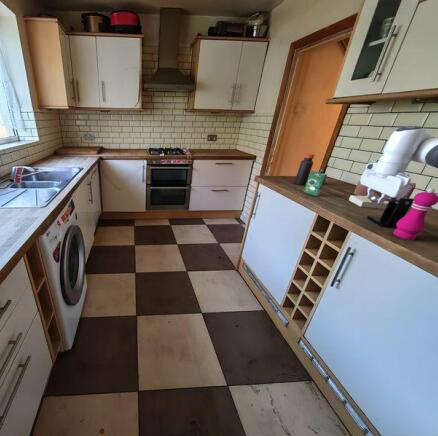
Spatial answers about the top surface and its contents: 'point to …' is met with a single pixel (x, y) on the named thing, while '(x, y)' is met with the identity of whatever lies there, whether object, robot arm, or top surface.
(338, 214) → the top surface
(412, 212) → the pepper mill
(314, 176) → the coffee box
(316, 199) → the top surface
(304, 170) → the bottle
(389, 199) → the metal spoon
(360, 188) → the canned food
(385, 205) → the plate
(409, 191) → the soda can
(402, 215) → the latch bracket
